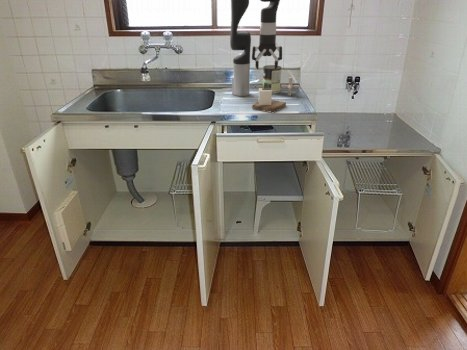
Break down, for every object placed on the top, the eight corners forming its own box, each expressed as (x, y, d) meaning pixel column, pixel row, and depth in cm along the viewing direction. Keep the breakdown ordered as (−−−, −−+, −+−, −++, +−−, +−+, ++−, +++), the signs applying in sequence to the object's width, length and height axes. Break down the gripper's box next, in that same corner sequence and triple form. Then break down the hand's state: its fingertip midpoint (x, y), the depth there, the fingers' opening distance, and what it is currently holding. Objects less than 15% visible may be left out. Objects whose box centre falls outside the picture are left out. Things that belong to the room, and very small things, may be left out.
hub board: (252, 108, 174) (252, 104, 173) (265, 102, 183) (265, 98, 182) (273, 112, 167) (273, 108, 166) (285, 106, 177) (286, 102, 176)
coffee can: (261, 93, 199) (262, 68, 193) (263, 89, 208) (263, 64, 202) (279, 94, 198) (281, 68, 191) (280, 89, 207) (281, 65, 200)
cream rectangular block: (259, 105, 172) (259, 89, 168) (258, 101, 177) (258, 86, 174) (271, 105, 172) (271, 89, 168) (270, 101, 177) (270, 86, 174)
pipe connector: (298, 98, 190) (299, 79, 185) (279, 97, 191) (280, 79, 187) (298, 93, 198) (300, 75, 194) (281, 92, 200) (282, 75, 195)
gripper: (252, 34, 156) (252, 70, 164) (284, 34, 156) (282, 70, 163) (252, 32, 162) (251, 67, 170) (282, 31, 162) (280, 67, 170)
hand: (266, 69), depth 167 cm, fingers open, 8 cm apart
